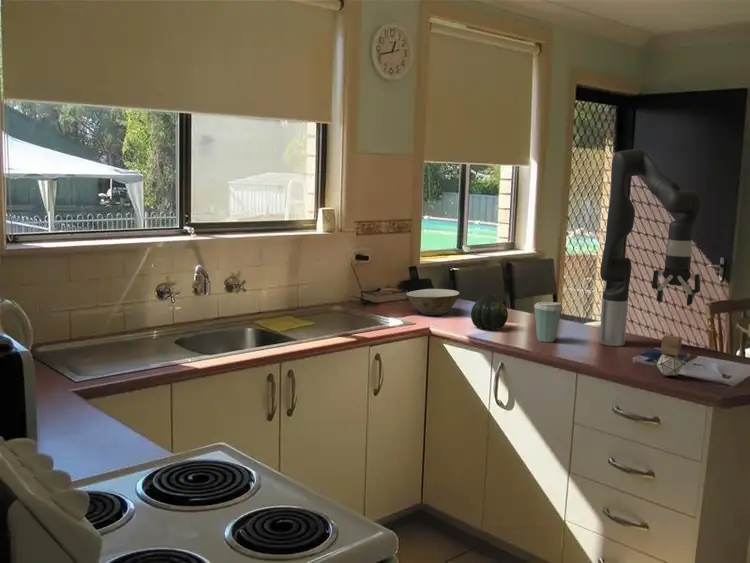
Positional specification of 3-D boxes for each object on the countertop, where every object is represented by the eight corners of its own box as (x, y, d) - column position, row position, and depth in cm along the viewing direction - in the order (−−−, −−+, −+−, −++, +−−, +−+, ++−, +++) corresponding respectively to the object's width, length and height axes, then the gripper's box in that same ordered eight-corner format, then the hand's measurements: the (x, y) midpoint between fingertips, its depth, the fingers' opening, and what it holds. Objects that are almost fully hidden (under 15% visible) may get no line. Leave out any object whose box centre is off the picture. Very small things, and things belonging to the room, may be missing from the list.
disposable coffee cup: (526, 339, 287) (528, 301, 284) (543, 335, 293) (545, 298, 291) (549, 345, 279) (551, 306, 276) (566, 341, 285) (568, 302, 283)
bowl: (396, 310, 338) (397, 288, 336) (442, 306, 348) (442, 285, 346) (421, 320, 317) (422, 297, 315) (468, 316, 327) (469, 294, 325)
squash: (486, 321, 292) (503, 290, 297) (459, 316, 304) (475, 287, 308) (503, 341, 300) (520, 310, 305) (476, 335, 312) (492, 306, 316)
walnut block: (664, 349, 243) (665, 335, 242) (680, 352, 240) (681, 337, 240) (660, 353, 239) (661, 338, 238) (676, 355, 236) (678, 340, 236)
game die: (669, 385, 243) (682, 359, 245) (680, 384, 235) (694, 357, 237) (645, 371, 244) (659, 345, 246) (655, 369, 236) (670, 342, 238)
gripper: (704, 254, 234) (700, 304, 237) (658, 250, 242) (654, 299, 244) (700, 257, 228) (695, 308, 230) (652, 253, 236) (648, 303, 238)
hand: (674, 303), depth 237 cm, fingers open, 8 cm apart
